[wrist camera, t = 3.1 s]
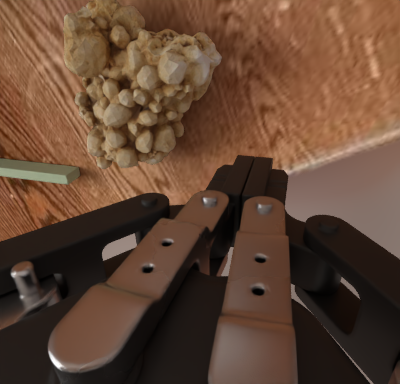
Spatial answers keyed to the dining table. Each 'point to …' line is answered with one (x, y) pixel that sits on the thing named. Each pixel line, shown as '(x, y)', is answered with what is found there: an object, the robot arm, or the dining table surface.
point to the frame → (38, 171)
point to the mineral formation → (134, 81)
